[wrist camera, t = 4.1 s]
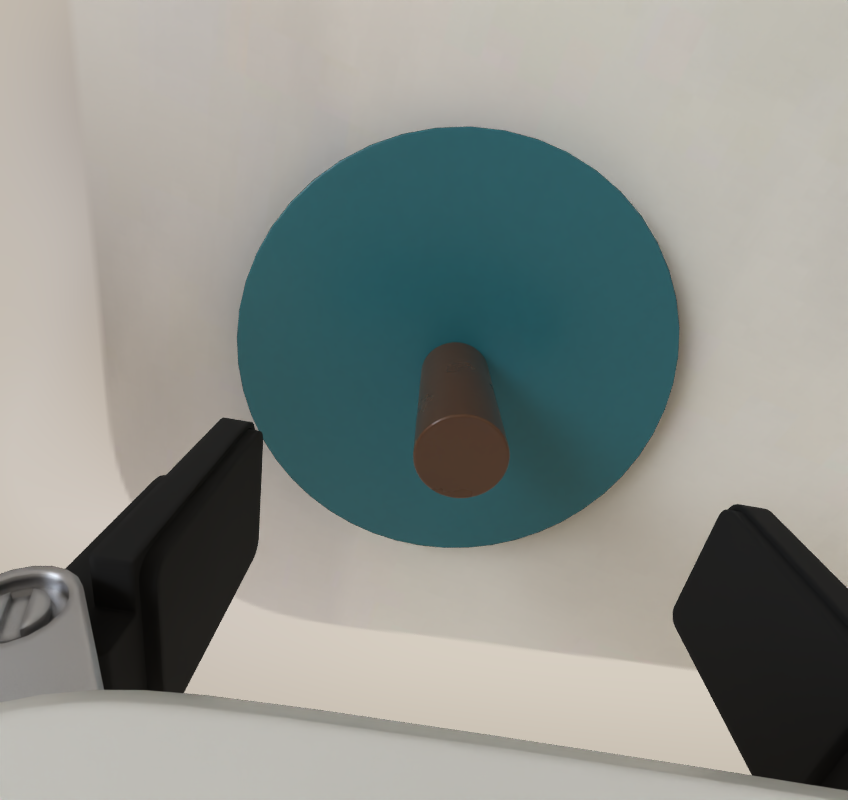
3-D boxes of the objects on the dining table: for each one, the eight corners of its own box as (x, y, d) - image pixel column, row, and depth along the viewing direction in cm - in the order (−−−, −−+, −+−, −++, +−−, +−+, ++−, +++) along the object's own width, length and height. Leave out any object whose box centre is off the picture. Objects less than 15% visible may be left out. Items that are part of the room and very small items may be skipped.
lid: (242, 501, 22) (157, 638, 15) (253, 86, 15) (118, 16, 9) (592, 556, 22) (655, 709, 16) (737, 178, 16) (941, 174, 10)
